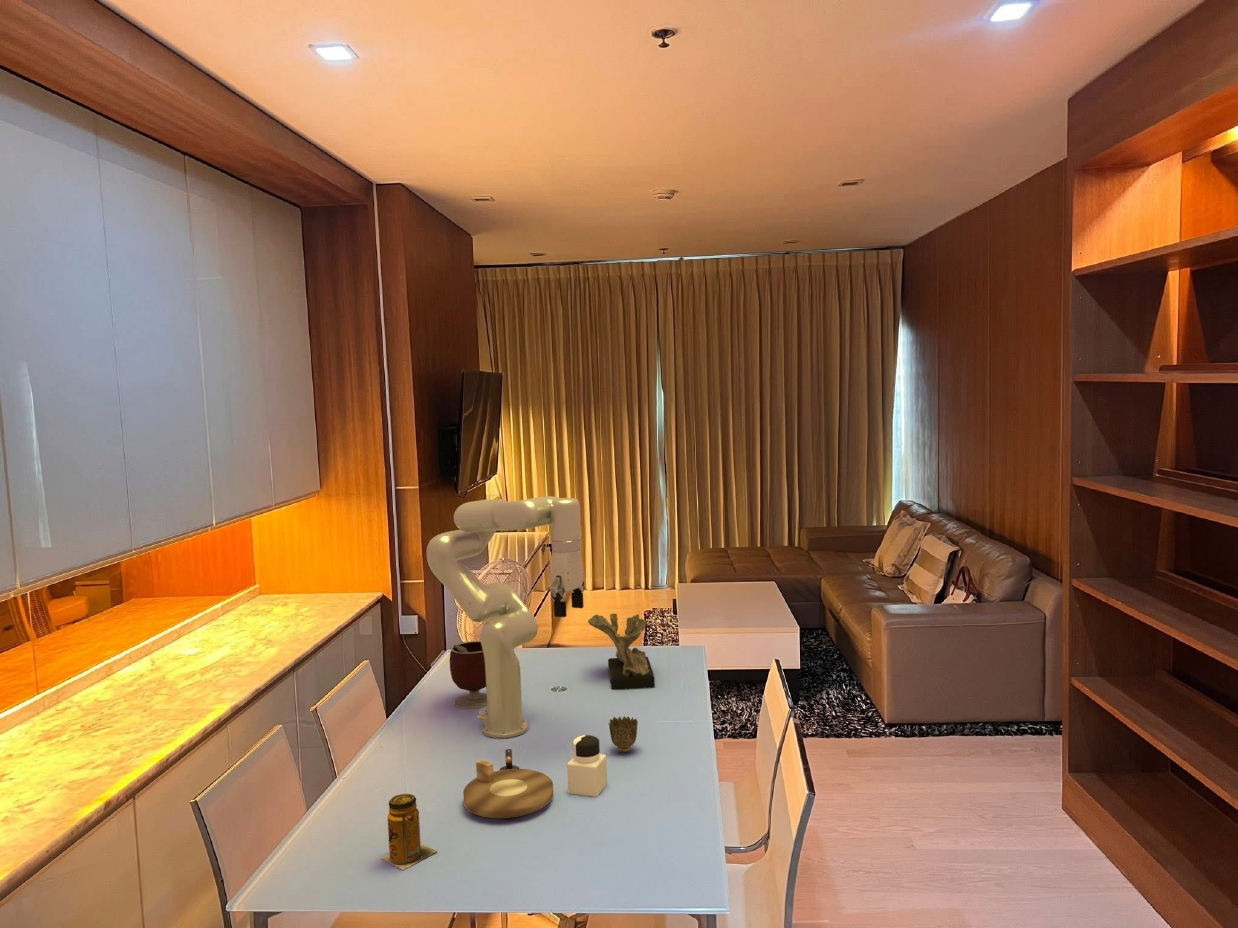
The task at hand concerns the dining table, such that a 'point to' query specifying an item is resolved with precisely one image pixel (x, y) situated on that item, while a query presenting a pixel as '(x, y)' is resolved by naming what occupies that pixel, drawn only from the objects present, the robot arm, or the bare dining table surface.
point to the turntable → (506, 791)
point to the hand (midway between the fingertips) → (569, 612)
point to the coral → (626, 654)
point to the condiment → (405, 833)
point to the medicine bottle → (587, 767)
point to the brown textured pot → (623, 733)
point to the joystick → (509, 761)
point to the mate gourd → (469, 674)
